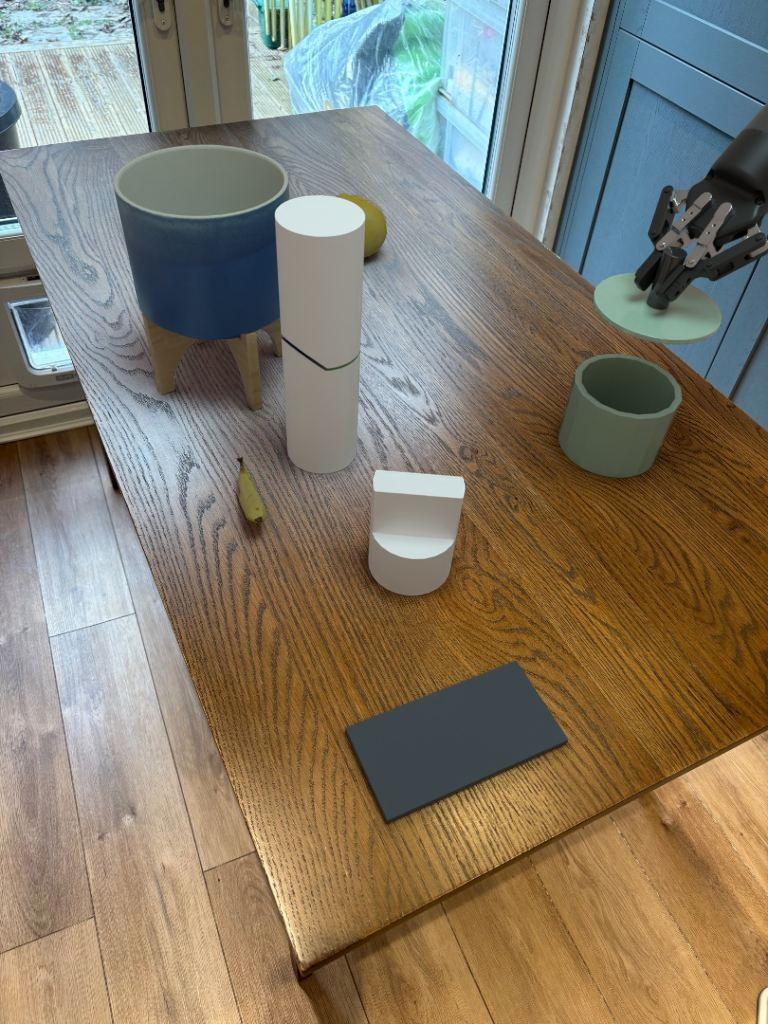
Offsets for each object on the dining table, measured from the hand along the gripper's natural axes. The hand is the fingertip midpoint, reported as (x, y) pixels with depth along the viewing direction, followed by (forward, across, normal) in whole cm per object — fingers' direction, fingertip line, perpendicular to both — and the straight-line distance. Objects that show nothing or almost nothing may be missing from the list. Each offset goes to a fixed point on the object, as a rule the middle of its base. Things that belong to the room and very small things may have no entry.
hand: (649, 292), depth 79 cm
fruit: (+17, -58, +15) cm, 62 cm away
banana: (+46, -13, -13) cm, 49 cm away
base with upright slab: (+38, +3, -5) cm, 38 cm away
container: (+37, -18, -5) cm, 41 cm away
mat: (+43, +22, -11) cm, 50 cm away
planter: (+40, -38, -8) cm, 56 cm away
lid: (0, 0, +3) cm, 3 cm away
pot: (+14, -1, +18) cm, 23 cm away
